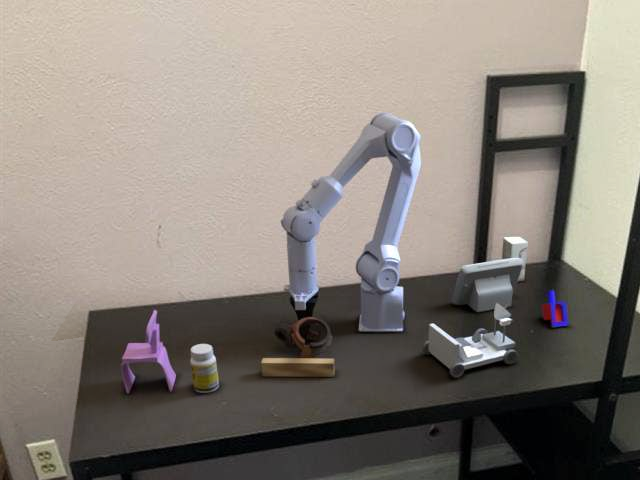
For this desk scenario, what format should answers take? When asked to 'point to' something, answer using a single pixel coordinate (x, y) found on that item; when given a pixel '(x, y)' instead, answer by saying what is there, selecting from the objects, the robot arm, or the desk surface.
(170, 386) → the chair
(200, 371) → the supplement bottle
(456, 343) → the toy cart
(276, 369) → the bar
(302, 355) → the pottery mug
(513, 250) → the white tall block
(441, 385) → the desk surface
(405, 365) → the desk surface
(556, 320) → the toy building block
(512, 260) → the digital clock
